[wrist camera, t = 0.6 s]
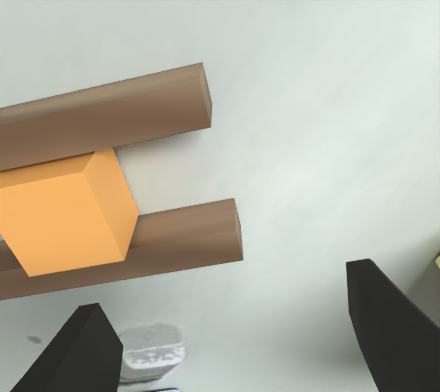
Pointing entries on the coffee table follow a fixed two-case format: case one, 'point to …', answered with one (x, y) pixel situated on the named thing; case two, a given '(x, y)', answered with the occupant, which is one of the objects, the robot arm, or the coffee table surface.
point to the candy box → (438, 261)
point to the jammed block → (67, 212)
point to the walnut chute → (113, 137)
